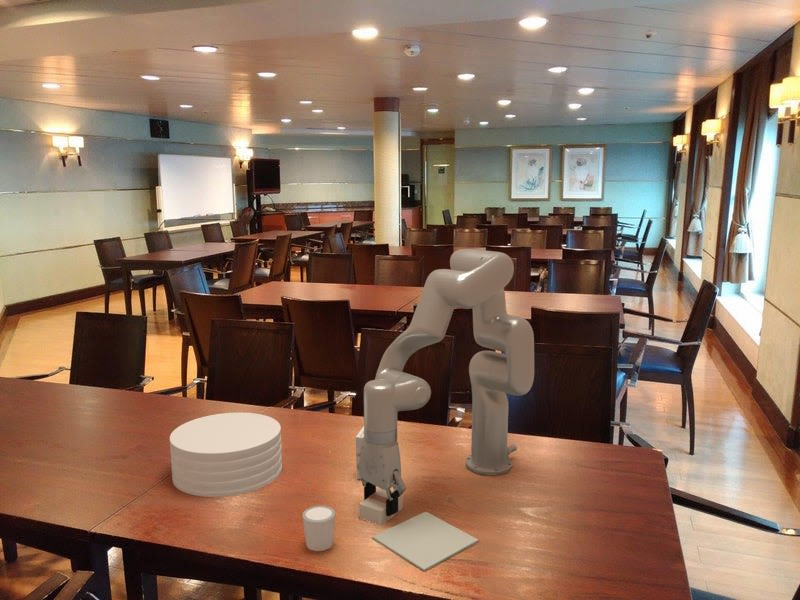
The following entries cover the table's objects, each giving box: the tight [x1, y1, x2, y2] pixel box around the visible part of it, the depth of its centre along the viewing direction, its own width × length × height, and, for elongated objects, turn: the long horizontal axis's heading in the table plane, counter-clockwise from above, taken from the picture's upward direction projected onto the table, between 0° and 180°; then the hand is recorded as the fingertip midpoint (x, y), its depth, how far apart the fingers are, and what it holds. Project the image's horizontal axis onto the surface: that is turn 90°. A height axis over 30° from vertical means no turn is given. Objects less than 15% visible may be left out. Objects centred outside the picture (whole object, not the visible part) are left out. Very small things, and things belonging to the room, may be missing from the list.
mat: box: [371, 511, 479, 573], centre depth 137 cm, size 16×16×1 cm
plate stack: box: [169, 412, 283, 498], centre depth 169 cm, size 28×28×12 cm
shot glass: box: [301, 505, 336, 552], centre depth 135 cm, size 7×7×7 cm
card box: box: [358, 488, 403, 526], centre depth 148 cm, size 9×6×4 cm, turn 148°
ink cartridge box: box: [355, 425, 364, 481], centre depth 167 cm, size 9×5×15 cm, turn 168°
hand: (380, 507), depth 148 cm, fingers closed on card box, 7 cm apart
